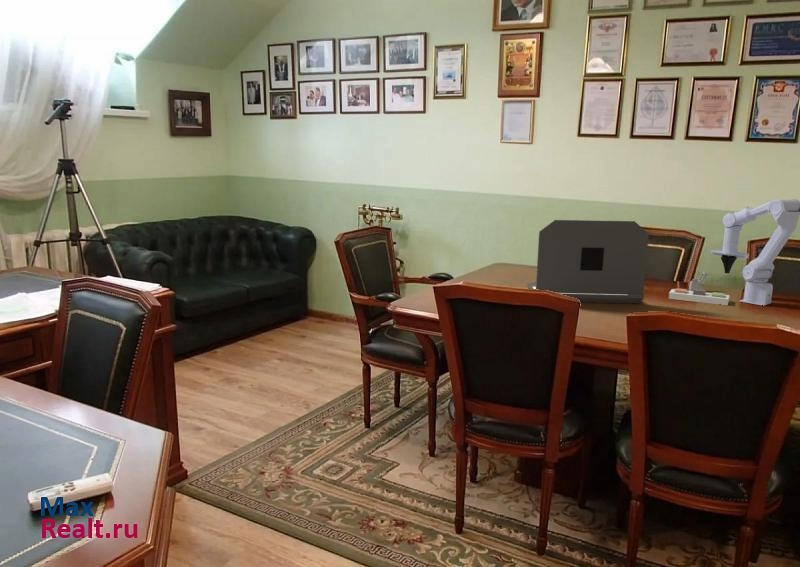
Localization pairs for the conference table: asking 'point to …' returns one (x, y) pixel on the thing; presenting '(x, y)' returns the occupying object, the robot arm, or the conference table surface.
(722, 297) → the sage button
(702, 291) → the charcoal button
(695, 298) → the button panel
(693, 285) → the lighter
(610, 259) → the laptop
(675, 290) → the terracotta button
